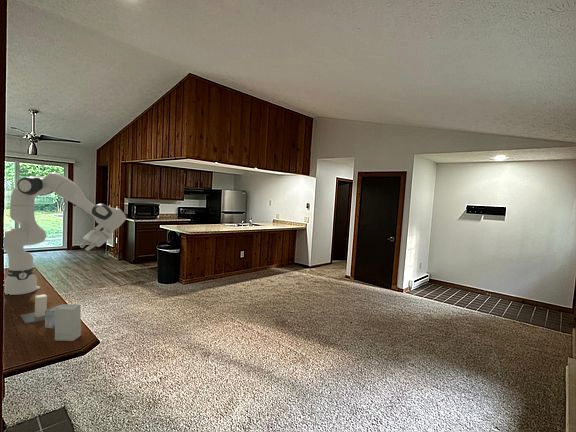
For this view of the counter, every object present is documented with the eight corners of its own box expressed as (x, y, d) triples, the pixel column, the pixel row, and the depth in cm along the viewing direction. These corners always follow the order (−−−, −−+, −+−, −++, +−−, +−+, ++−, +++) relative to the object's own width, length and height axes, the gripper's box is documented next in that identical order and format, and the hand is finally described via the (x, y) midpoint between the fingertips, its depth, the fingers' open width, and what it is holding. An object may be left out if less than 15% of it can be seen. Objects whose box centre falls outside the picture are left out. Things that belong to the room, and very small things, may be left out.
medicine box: (52, 329, 147) (52, 311, 146) (44, 327, 148) (44, 309, 147) (67, 322, 155) (67, 305, 154) (59, 321, 156) (60, 304, 155)
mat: (20, 316, 157) (20, 314, 157) (54, 309, 168) (54, 308, 168) (25, 324, 149) (25, 322, 149) (60, 316, 160) (60, 315, 160)
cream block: (34, 314, 158) (35, 295, 158) (44, 312, 161) (45, 294, 161) (36, 317, 156) (37, 297, 155) (46, 315, 159) (47, 296, 158)
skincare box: (81, 335, 143) (82, 304, 142) (72, 342, 137) (73, 309, 136) (62, 334, 142) (63, 303, 141) (53, 341, 136) (53, 308, 135)
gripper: (92, 225, 191) (73, 242, 184) (105, 230, 178) (85, 248, 171) (100, 232, 195) (81, 249, 188) (113, 237, 182) (94, 255, 175)
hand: (83, 248), depth 180 cm, fingers open, 8 cm apart
